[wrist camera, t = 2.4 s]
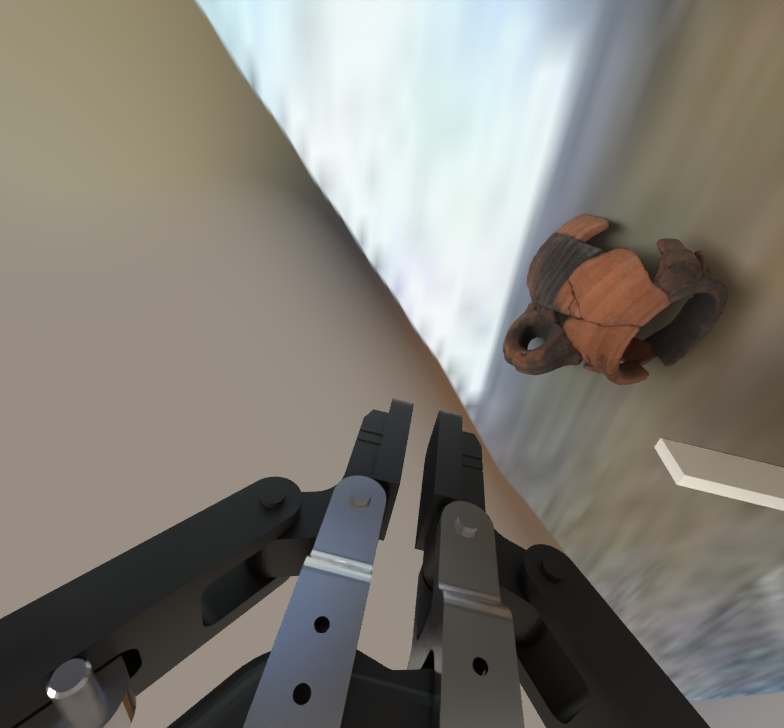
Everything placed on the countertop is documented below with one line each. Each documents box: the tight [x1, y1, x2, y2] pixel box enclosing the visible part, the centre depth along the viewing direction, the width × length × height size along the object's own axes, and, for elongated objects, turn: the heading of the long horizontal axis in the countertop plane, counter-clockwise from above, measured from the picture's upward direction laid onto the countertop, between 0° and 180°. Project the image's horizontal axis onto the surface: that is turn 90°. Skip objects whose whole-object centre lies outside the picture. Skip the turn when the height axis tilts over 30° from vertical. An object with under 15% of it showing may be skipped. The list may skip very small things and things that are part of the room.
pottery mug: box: [503, 214, 727, 385], centre depth 25 cm, size 12×10×8 cm
